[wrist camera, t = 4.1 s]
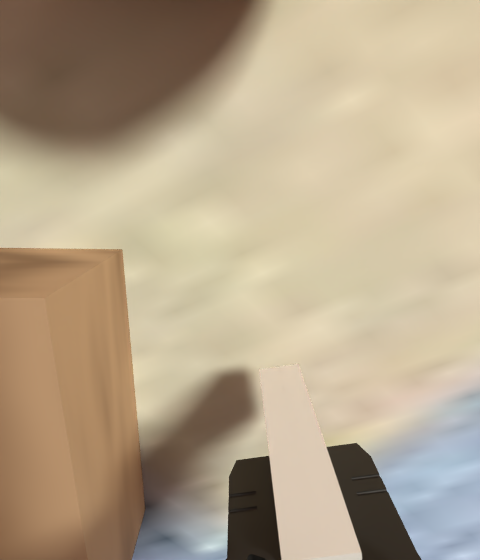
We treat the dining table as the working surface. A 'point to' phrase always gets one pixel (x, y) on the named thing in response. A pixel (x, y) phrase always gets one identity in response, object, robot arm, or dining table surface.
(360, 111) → the dining table surface
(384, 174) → the dining table surface
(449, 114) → the dining table surface
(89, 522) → the block
